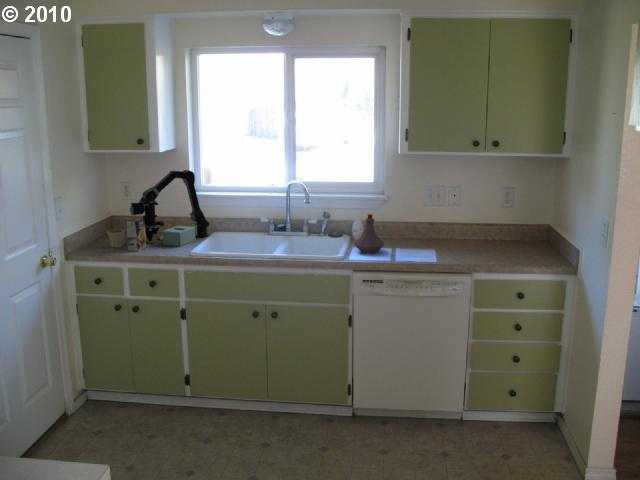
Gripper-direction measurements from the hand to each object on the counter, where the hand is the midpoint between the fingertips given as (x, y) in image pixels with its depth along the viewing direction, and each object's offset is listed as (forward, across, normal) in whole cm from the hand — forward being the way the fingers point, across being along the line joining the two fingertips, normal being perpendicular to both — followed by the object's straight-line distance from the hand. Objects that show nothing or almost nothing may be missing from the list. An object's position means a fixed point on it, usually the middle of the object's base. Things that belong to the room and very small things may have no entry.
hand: (151, 240), depth 366 cm
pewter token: (+2, -11, +2) cm, 11 cm away
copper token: (+1, 0, 0) cm, 1 cm away
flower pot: (+1, +15, -12) cm, 19 cm away
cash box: (+1, -5, +15) cm, 16 cm away
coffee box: (+1, +16, +2) cm, 16 cm away
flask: (+1, -24, +120) cm, 122 cm away
